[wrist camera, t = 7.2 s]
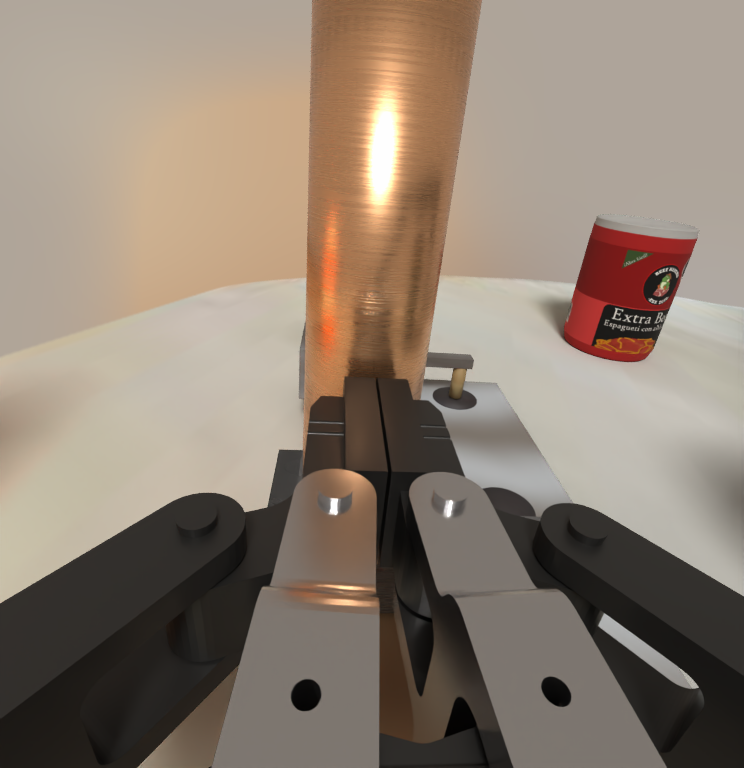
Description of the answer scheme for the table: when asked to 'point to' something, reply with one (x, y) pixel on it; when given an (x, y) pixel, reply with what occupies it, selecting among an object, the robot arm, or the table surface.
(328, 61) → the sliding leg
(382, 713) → the grey metal fixture
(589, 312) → the canned food
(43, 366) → the table surface
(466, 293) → the table surface
